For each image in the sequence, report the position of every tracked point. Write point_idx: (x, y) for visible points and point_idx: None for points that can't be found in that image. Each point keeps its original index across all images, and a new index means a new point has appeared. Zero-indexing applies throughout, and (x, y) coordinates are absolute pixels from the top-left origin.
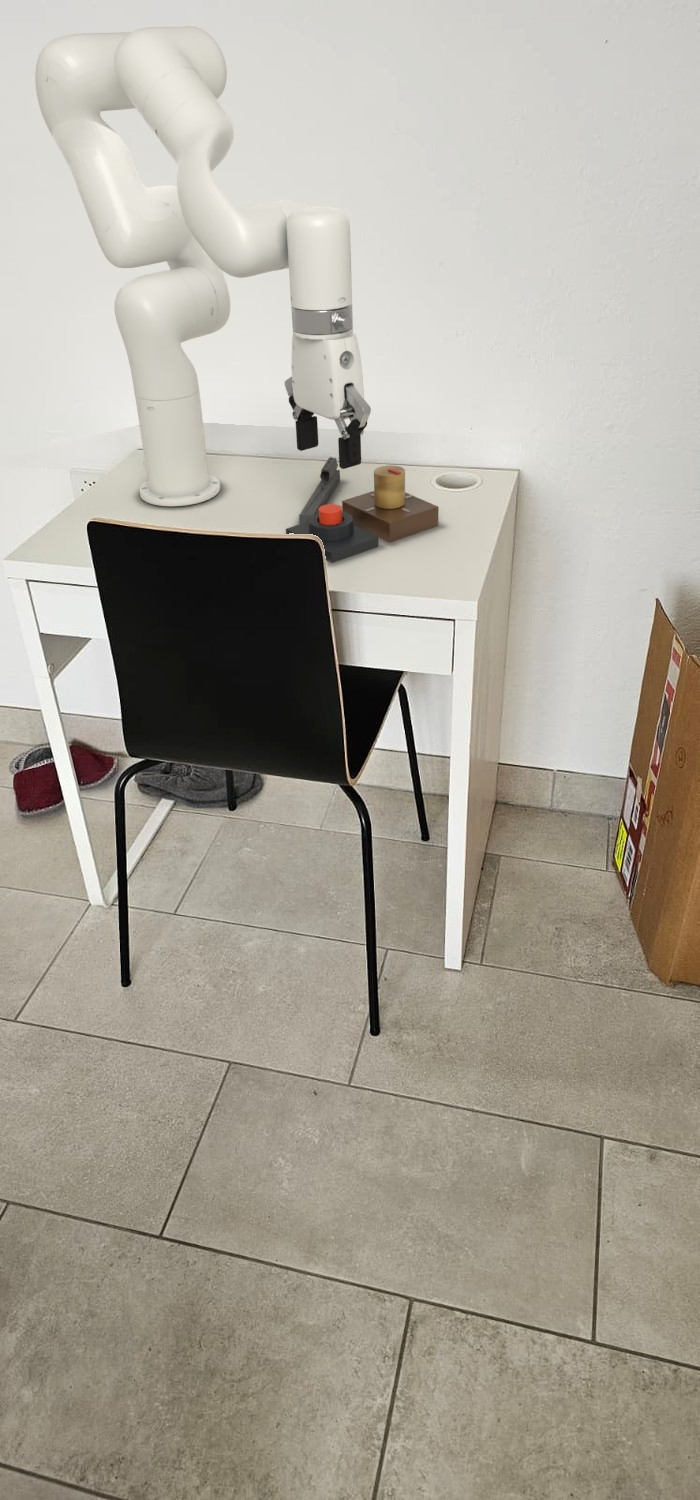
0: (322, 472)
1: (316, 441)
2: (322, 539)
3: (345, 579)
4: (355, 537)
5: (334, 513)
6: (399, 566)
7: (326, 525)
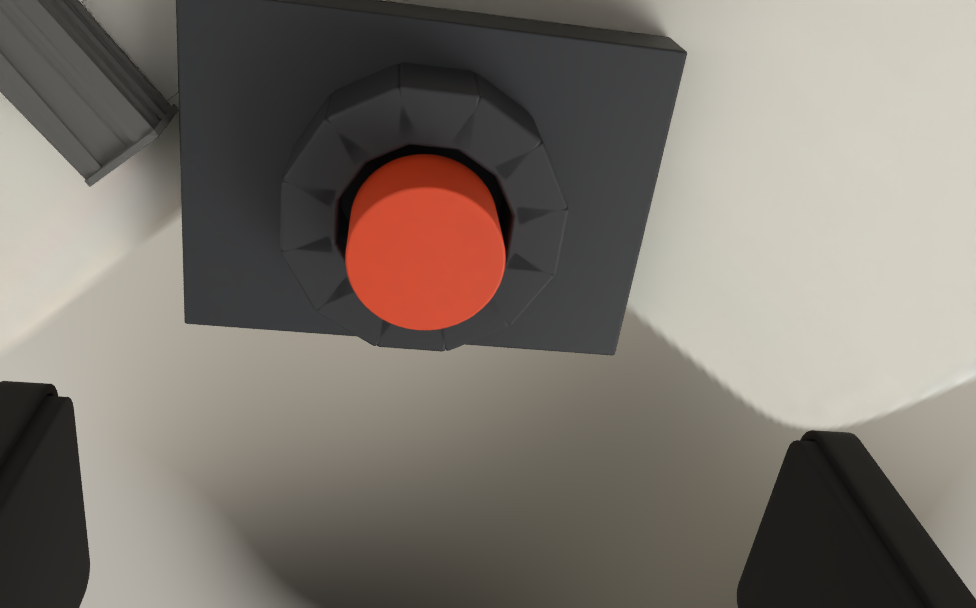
0: None
1: (53, 444)
2: None
3: (758, 384)
4: (581, 148)
5: (499, 284)
6: (902, 134)
7: None
